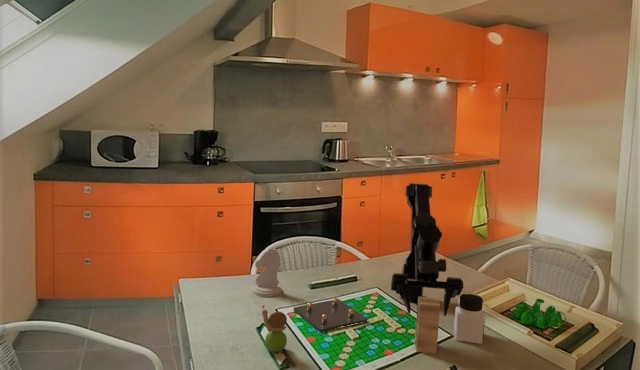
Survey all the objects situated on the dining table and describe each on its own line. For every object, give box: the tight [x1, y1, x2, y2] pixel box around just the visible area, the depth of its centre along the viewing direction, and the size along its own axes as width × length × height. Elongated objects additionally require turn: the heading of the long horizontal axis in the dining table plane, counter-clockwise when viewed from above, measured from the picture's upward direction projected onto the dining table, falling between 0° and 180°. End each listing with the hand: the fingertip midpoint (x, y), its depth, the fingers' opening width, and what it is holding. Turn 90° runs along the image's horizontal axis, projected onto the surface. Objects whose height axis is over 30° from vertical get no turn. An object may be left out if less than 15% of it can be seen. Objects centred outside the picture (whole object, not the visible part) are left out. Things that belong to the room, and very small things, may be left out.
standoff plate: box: [293, 297, 368, 333], centre depth 143 cm, size 16×16×3 cm
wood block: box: [414, 296, 441, 354], centre depth 125 cm, size 5×5×13 cm
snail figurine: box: [261, 304, 288, 353], centre depth 121 cm, size 5×6×12 cm
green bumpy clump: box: [511, 298, 567, 329], centre depth 145 cm, size 15×15×7 cm
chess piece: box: [251, 247, 283, 298], centre depth 159 cm, size 10×10×15 cm
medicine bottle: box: [453, 292, 486, 345], centre depth 133 cm, size 7×7×12 cm
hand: (427, 314), depth 126 cm, fingers open, 9 cm apart
